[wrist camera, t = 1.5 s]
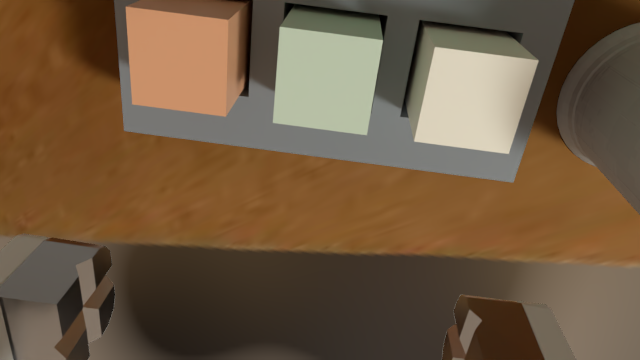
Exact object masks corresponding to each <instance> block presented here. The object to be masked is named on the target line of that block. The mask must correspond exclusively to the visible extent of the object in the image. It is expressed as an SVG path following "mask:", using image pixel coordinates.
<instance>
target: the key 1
mask: <svg viewBox="0 0 640 360" xmlns="http://www.w3.org/2000/svg"><path fill="white" fill-rule="evenodd" d="M252 14H253V0H139V1H137V2H135V3H133V4H130V5H128V6H126V21H127V36H128V50H129V65H130V80H131V94H132V104H133V105H141V106H148V107H156V108H164V109H171V110H179V111H186V112H194V113H201V114H209V115H217V116H224V117H226V116H227V114H228V113H229V111H230V109H231V108H232V106H233V105H234V103H235V102H236V100H237V98H238V97H239V95H240V94H241V92H242V91H243V89H244V87H245V86H246V84H247V83H248V81H249V78H250V56H251V35H252Z"/></svg>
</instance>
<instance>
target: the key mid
mask: <svg viewBox="0 0 640 360" xmlns="http://www.w3.org/2000/svg"><path fill="white" fill-rule="evenodd" d="M382 44H383V36H382V30H381V24H380V18H379V14H371V13H364V12H356V11H348V10H340V9H333V8H325V7H317V6H310V5H302V4H295V5H294V6H293V8H292V9H291V11H290V12H289V14H288V15H287V17H286V18H285V20H284V21H283V23H282V24H281V26H280V31H279V45H278V58H277V72H276V86H275V100H274V113H273V123H277V124H285V125H292V126H300V127H308V128H315V129H323V130H330V131H338V132H345V133H353V134H361V135H367V132H368V126H369V120H370V114H371V108H372V103H373V97H374V91H375V85H376V79H377V73H378V67H379V61H380V56H381V50H382Z"/></svg>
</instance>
